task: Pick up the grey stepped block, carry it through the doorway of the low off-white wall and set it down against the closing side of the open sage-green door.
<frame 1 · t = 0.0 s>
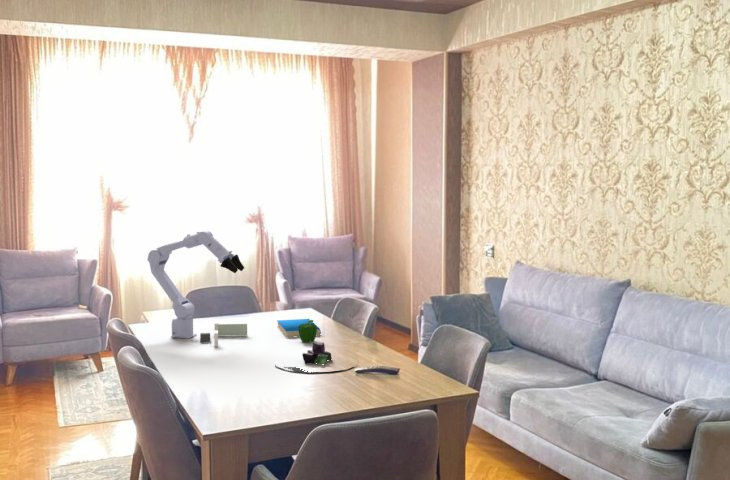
hand: (239, 270, 343), 32 cm above the table, tool tilted 50°, fingers open, 7 cm apart
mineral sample: (316, 364, 305), on the table
door: (232, 329, 353), point 3 cm above the table, hinge at 85.0°
grey stepped block: (205, 340, 344), on the table
bell pepper: (307, 341, 343), on the table
book: (298, 332, 365), on the table
door wall: (216, 339, 345), on the table
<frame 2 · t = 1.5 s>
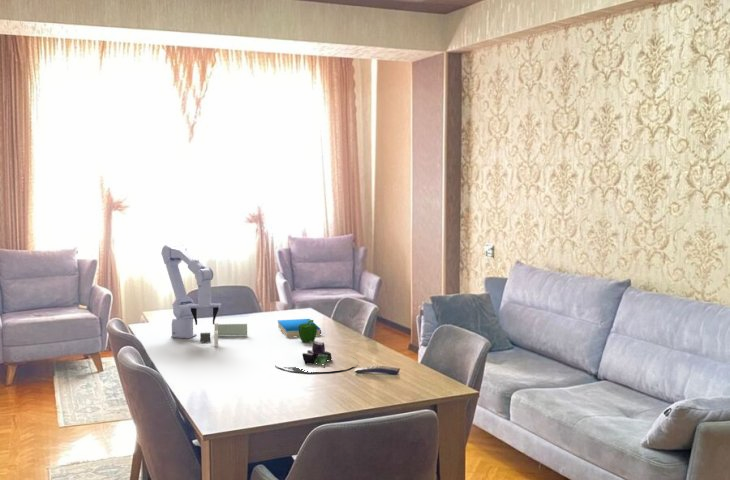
hand: (205, 324, 341), 8 cm above the table, tool pointing down, fingers open, 7 cm apart
nothing on the table moved.
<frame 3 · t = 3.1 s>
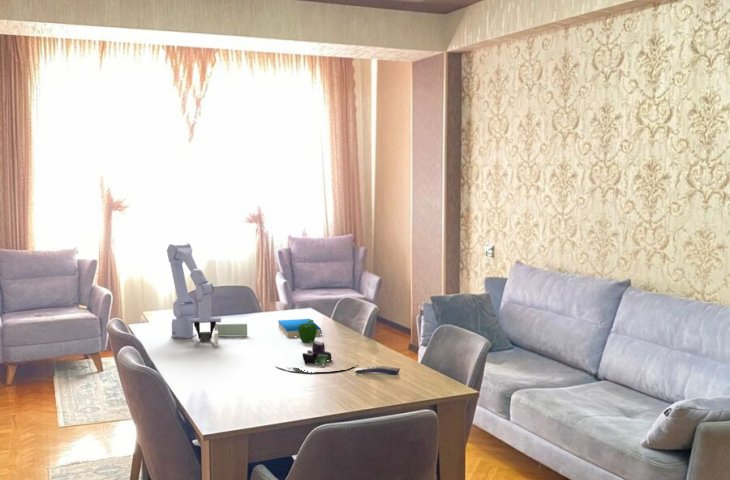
hand: (205, 338, 342), 1 cm above the table, tool pointing down, fingers closed on grey stepped block, 4 cm apart
grey stepped block: (205, 339, 346), on the table, touching gripper
everything else where it was.
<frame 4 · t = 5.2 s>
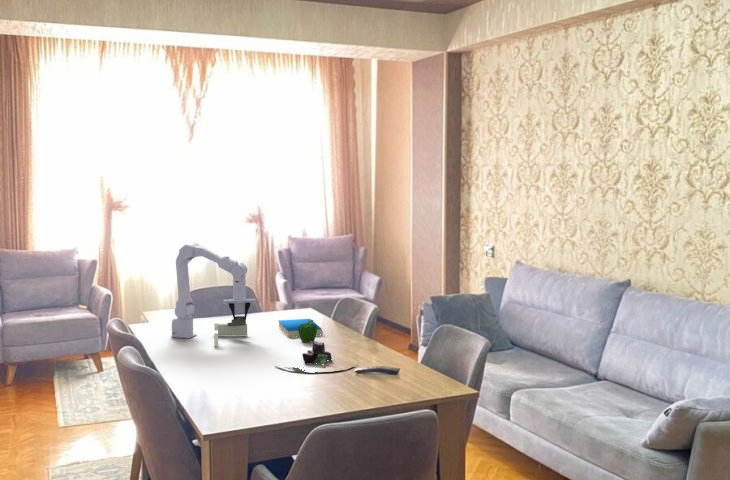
hand: (239, 319, 345), 9 cm above the table, tool pointing down, fingers closed on grey stepped block, 4 cm apart
door: (232, 329, 353), point 3 cm above the table, hinge at 85.0°, touching grey stepped block
grey stepped block: (236, 325, 348), point 6 cm above the table, tilted 16°, touching door, gripper
everything else where it was.
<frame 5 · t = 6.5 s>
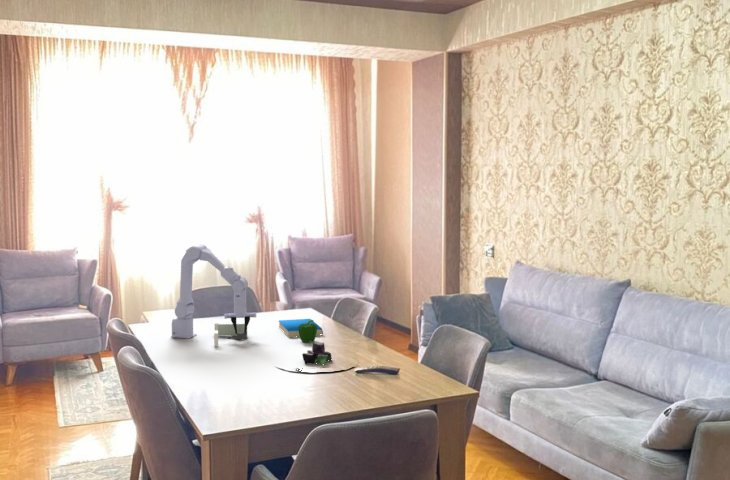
hand: (240, 333, 346), 3 cm above the table, tool pointing down, fingers closed on grey stepped block, 3 cm apart
door: (232, 329, 353), point 3 cm above the table, hinge at 85.0°
grey stepped block: (237, 340, 349), on the table, touching gripper
everything else where it was.
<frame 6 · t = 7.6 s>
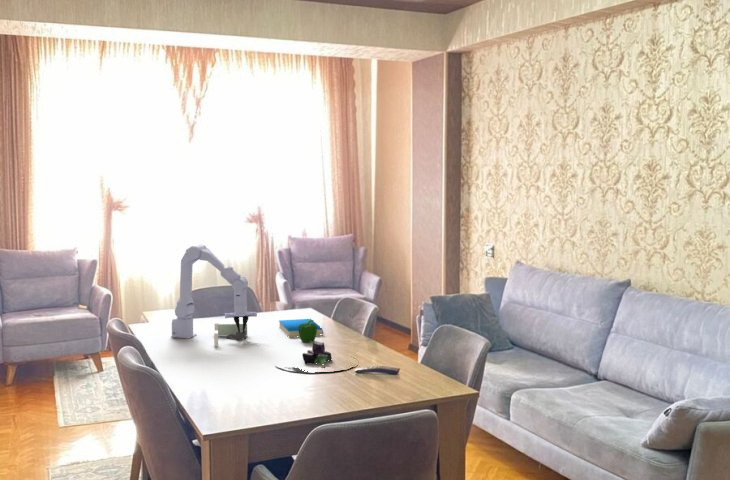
hand: (241, 332, 347), 3 cm above the table, tool pointing down, fingers closed, pressing on grey stepped block
grey stepped block: (236, 339, 349), on the table, touching gripper
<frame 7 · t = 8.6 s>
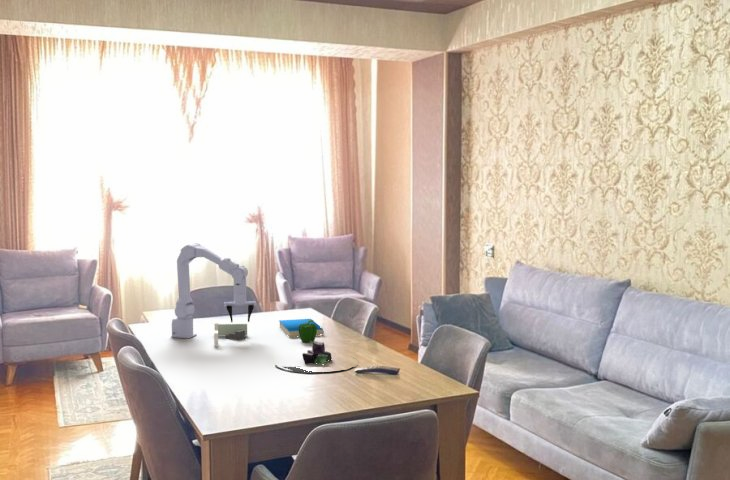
hand: (240, 321, 346), 8 cm above the table, tool pointing down, fingers open, 7 cm apart
grey stepped block: (235, 338, 349), on the table
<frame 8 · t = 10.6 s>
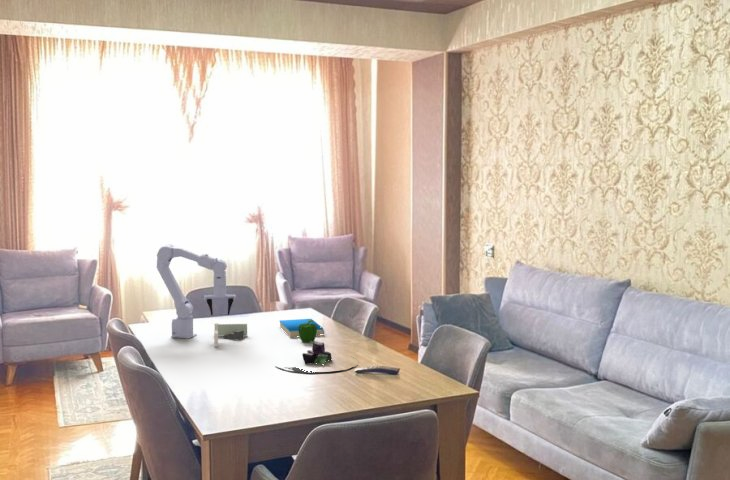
hand: (220, 314, 351), 10 cm above the table, tool pointing down, fingers open, 7 cm apart
at the end: grey stepped block 2.0 cm from the target spot, on the table; grey stepped block tilted 0°; door at +85° (first picture: +85°) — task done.
